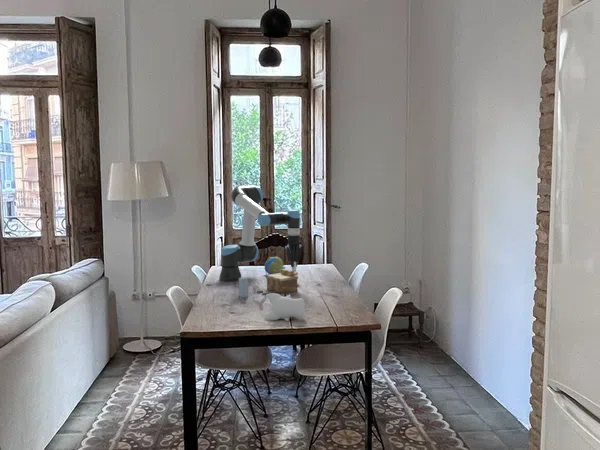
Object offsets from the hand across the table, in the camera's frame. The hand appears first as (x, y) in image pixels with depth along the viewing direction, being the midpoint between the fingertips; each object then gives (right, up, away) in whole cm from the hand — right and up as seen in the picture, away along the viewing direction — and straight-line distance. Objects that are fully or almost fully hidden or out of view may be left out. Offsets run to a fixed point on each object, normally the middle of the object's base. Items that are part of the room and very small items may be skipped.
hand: (294, 272), depth 337 cm
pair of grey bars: (-19, -12, -12) cm, 25 cm away
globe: (-14, -7, +48) cm, 51 cm away
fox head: (-4, -17, -68) cm, 70 cm away
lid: (-7, -3, -5) cm, 9 cm away
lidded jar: (-3, -10, +16) cm, 19 cm away
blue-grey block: (-30, -13, -19) cm, 38 cm away
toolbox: (-7, -11, -4) cm, 14 cm away
